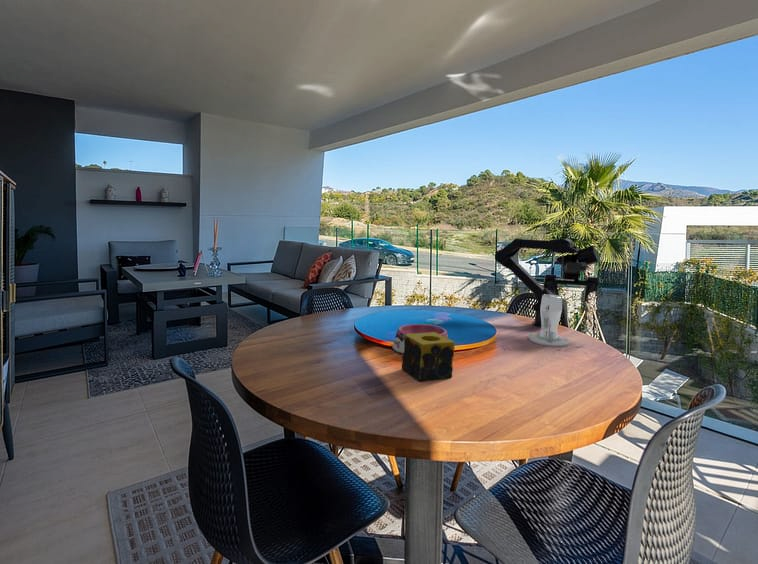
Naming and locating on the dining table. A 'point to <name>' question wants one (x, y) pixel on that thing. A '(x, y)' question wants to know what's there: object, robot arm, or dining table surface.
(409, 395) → the dining table surface
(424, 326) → the dog bowl
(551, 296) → the beer glass
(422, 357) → the candle
